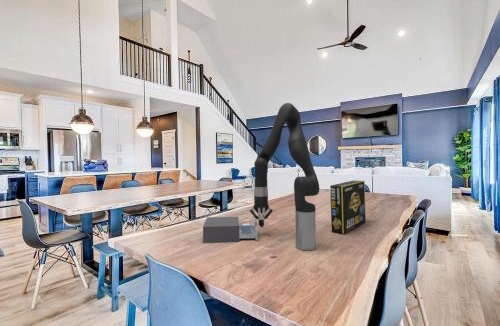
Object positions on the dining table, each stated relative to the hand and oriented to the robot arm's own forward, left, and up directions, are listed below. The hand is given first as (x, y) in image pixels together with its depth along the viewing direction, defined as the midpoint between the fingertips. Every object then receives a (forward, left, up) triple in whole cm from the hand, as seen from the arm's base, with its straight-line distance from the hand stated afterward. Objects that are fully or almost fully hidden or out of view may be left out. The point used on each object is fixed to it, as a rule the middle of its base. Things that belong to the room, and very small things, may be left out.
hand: (261, 226), depth 140 cm
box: (+10, -54, -5) cm, 55 cm away
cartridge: (0, +8, -3) cm, 9 cm away
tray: (0, +12, -4) cm, 12 cm away
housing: (0, +21, -5) cm, 22 cm away
